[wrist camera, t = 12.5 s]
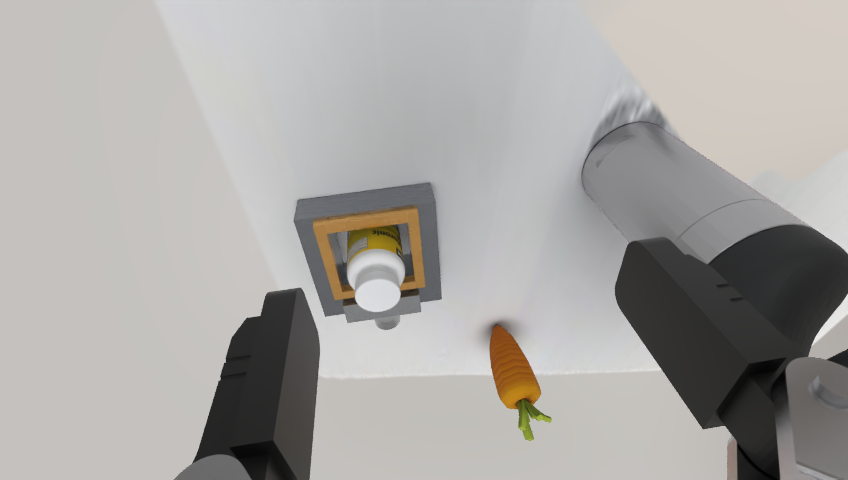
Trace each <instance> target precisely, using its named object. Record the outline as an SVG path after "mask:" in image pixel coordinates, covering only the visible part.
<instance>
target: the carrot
mask: <svg viewBox="0 0 848 480" xmlns="http://www.w3.org/2000/svg"><path fill="white" fill-rule="evenodd" d="M490 360H491V368H492V372H493V376H494V381H495V384H496V388H497V391H498V395H499V397H500V399H501V401H502V402H503V403H504V404H505V406H506V407H507V408H509V409H518V410H519V429H520V430H522V431H523V434H524V437H525V439H526V440H529V441H531V440H533V439H534V437H533V434H532V431H531V428H530V425H529V422H530V419H529V415H530V416H531V418H532V419H534V418H535V419H536V420H538V421H540V420H544V421H546V422H551V417H549V416H546V415H544V414H543V413H541V412H540V411H539V410H537V409H536V408H535V407H534V406H533V404H534V403H535V402H536V401H537V400H538V398H539V397H540V395H541V390H540V387H539V384H538V382H537V380H536V377H535V375H534V373H533V371H532V369H531V366H530V364H529V362H528V360H527V359H526V357H525V355H524V354H523V352H522V350H521V349H520V347H519V346H518V344H517V343H516V341H515V340H514V338H513V337H512V336H511V335H510V334H509V333H508V332H507V331H506V330H505V329H504V328H502V327H501V326H498V325H496V326H495V327H494V328H493V331H492V335H491V339H490ZM528 413H529V415H528Z"/></svg>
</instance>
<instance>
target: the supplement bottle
mask: <svg viewBox="0 0 848 480" xmlns="http://www.w3.org/2000/svg"><path fill="white" fill-rule="evenodd" d="M347 239H348V241H347V242H348V243H347V278H348V282H349V284H350V285H351V287H352V288H353V289H354V290H355V300H356V302H357V304H358V305H359V306H360V307H361V308H363V309H365V310H367V311H372V312H381V311H386V310H388V309H390V308H392V307H394V306H395V305H396V304H397V303H398V301H399V299H400V295H401V292H400V285H401V284H402V282H403V280H404V277H405V266H404V259H403V253H402V246H401V239H400V233H399V228H398V226H397V224H395V225H388V226H381V227H373V228H366V229H359V230H351V231H348V238H347Z"/></svg>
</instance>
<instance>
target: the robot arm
mask: <svg viewBox="0 0 848 480" xmlns="http://www.w3.org/2000/svg"><path fill="white" fill-rule="evenodd" d="M582 182H583V186H584V189H585V190H586V192H587V194H588V195H589V196H590V197H591V198H592V200H593V201H594V202H595V203H596V204H597V205H598V207H599V208H600V209H601V210H602V211H603V212H604V214H605V215H606V216H607V217H608V218H609V220H610V221H611V222H612V223H613V224H614V225H615V227H616V228H617V229H618V230H619V231H620V232H621V233H622V235H623V236H624V237H625V238H626V239H627V240H628V242H629V244H628V246H627V248H626V252H625V255H624V258H623V262H622V265H621V268H620V271H619V275H618V278H617V281H616V285H615V296H616V300H617V303H618V306H619V308H620V309H621V311H622V312H623V314H624V315H625V317H626V318H627V320H628V321H629V323H630V324H631V326H632V327H633V328H634V330H635V331H636V333H637V334H638V336H639V337H640V339H641V340H642V342H643V343H644V344H645V346H646V347H647V349H648V350H649V352H650V353H651V355H652V356H653V357H654V359H655V360H656V362H657V363H658V365H659V366H660V368H661V369H662V371H663V372H664V373H665V375H666V376H667V378H668V379H669V381H670V382H671V383H672V385H673V386H674V388H675V389H676V391H677V392H678V394H679V395H680V397H681V398H682V400H683V401H684V402H685V404H686V405H687V407H688V408H689V409H690V411H691V413H692V414H693V415H694V417H695V418H696V420H697V421H698V423H699V424H700V426H701V427H702V429H707V428H713V427H719V426H726V428H727V429H728V430H729V432H730V433H731V434H732V435H731V437H730V438H729V440H728V446H727V451H728V452H727V480H848V349H847V350H845V351H843V352H841V353H839V354H837V355H835V356H833V357H831V358H829V359H827V360H825V359H821V358H815V357H808V355H809V352H810V348H811V345H812V343H813V341H814V339H815V336H816V335H817V333H818V332H819V330H820V329H821V327H822V326H823V325H824V324H825V322H826V321H827V320H828V319H829V317H830V316H831V315H832V314H833V313H834V311H835V310H836V309H837V308H838V306H839V305H840V304H841V303H842V302H843V300H844V299H845V297H846V295H847V294H848V254H847V253H846V252H845V251H844V250H843V249H842V248H841V247H840V246H838V245H837V244H836V243H834V242H833V241H831V240H830V239H828V238H827V237H825V236H824V235H822V234H821V233H819V232H818V231H816V230H815V229H813V228H812V227H810V226H809V225H807V224H806V223H804V222H803V221H801V220H800V219H798V218H797V217H795V216H794V215H792V214H791V213H789V212H788V211H786V210H785V209H783V208H782V207H780V206H779V205H777V204H775V203H774V202H772V201H771V200H769V199H768V198H766V197H765V196H763V195H762V194H760V193H759V192H757V191H756V190H754V189H753V188H751V187H750V186H748V185H747V184H745V183H744V182H742V181H741V180H739V179H738V178H736V177H734V176H733V175H731V174H730V173H728V172H727V171H725V170H724V169H722V168H721V167H719V166H718V165H716V164H715V163H713V162H712V161H710V160H709V159H707V158H706V157H704V156H703V155H701V154H700V153H698V152H697V151H695V150H694V149H692V148H691V147H689V146H688V145H686V144H685V143H684V142H682V141H680V140H679V139H677V138H676V137H674V136H673V135H671V134H670V133H668V132H667V131H665V130H664V129H662V128H661V127H659V126H657V125H655V124H652V123H647V122H638V123H632V124H628V125H625V126H623V127H620V128H618V129H616V130H615V131H613V132H611V133H610V134H608V135H607V136H606V137H604V138H603V139H602V140H601V141H600V142H599V143H598V144H597V145H596V146H595V147H594V149H593V150H592V152H591V153H590V155H589V156H588V158H587V160H586V163H585V165H584V169H583V173H582ZM319 357H320V344H319V336H318V331H317V328H316V325H315V322H314V319H313V317H312V314H311V311H310V308H309V305H308V303H307V300H306V297H305V294H304V292H303V290H302V289H301V288H295V289H288V290H281V291H274V292H268V293H267V294H266V296H265V300H264V304H263V308H262V312H261V316H258V317H251V318H246V320H245V321H244V322H243V324H242V325H241V326H240V328H239V329H238V330H237V332H236V333H235V334H234V336H233V337H232V339H231V342H230V346H229V349H228V352H227V356H226V363H224V366H223V369H222V373H221V376H220V377H221V380H220V381H219V382H218V386H217V389H216V392H215V396H214V399H213V403H212V406H211V409H210V412H209V416H208V419H207V423H206V426H205V429H204V433H203V436H202V440H201V443H200V446H199V449H198V452H197V455H196V457H195V459H194V461H193V463H192V464H191V465H190V466H188V467H187V468H186V469H185V470H183V471H182V472H181V473H180V474H179V475H178V476H177V477H176V478H175V479H174V480H309V478H310V466H311V454H312V441H313V429H314V417H315V405H316V393H317V381H318V369H319Z"/></svg>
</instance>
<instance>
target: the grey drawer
mask: <svg viewBox="0 0 848 480" xmlns="http://www.w3.org/2000/svg"><path fill="white" fill-rule="evenodd" d="M294 223H295V226H296V229H297V232H298V235H299V238H300V241H301V244H302V247H303V250H304V254H305V257H306V260H307V263H308V266H309V269H310V272H311V275H312V278H313V281H314V284H315V287H316V290H317V293H318V296H319V299H320V302H321V305H322V308H323V311H324V314H325V317H326V316H332V315H339V314H345V316H346V319H347V323H351V322H357V321H364V320H371V319H375V323H376V325H377V327H379V328H380V329H384V330H388V329H392V328H394V327H395V326H397V325H398V323H399V321H400V315H404V314H411V313H417V312H421V306H420V302H427V301H433V300H440V299H442V297H441V282H440V266H439V251H438V236H437V220H436V205H435V199H434V195H433V192H432V189H431V185H430V183H425V184H417V185H409V186H402V187H394V188H387V189H379V190H371V191H364V192H356V193H348V194H341V195H333V196H325V197H318V198H310V199H303V200H298V202H297V207H296V212H295V216H294ZM403 223H407V229H408V237H409V245H410V254H407V255H403V259H404V266H405V277H404V280H403V282H402V284H401V285H400V292H401V295H400V299H399V301H398V303H397V304H396V305H395V306H394V307H392V308H390V309H388V310H386V311H381V312H372V311H367V310H365V309H363V308H361V307H360V306H359V305H358V304H357V302H356V300H355V290H354V289H353V288H352V287H351V285H350V284H349V282H348V278H347V263H343V259H342V256H341V252H340V248H339V244H338V240H337V236H336V233H337V232H344V231H351V230H359V229H366V228H373V227H381V226H388V225H395V224H403Z"/></svg>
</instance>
